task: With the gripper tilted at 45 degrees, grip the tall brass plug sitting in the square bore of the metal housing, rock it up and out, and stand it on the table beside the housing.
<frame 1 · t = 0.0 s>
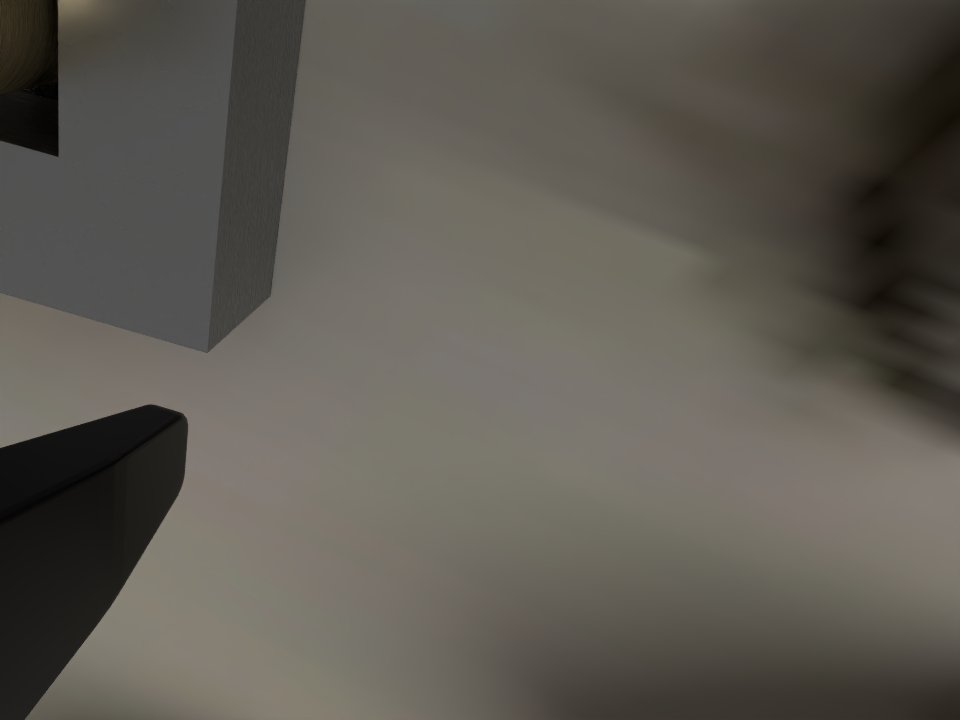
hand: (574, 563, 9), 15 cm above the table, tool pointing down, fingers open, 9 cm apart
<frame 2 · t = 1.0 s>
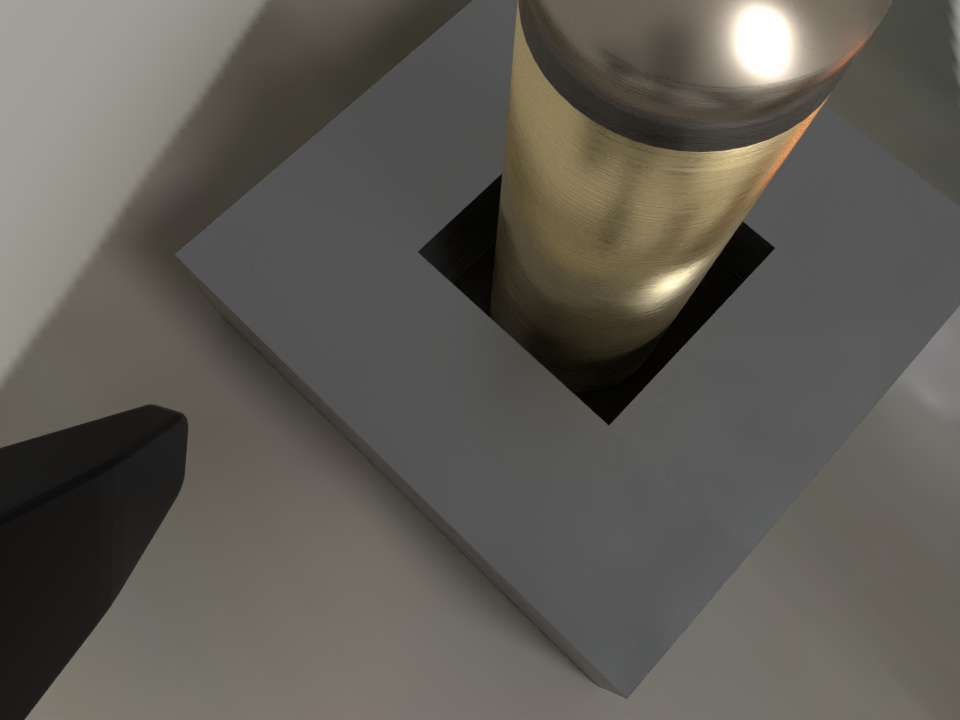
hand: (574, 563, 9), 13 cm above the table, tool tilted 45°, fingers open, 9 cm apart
bore housing: (576, 309, 24), on the table
brass plug: (619, 189, 18), in the bore housing
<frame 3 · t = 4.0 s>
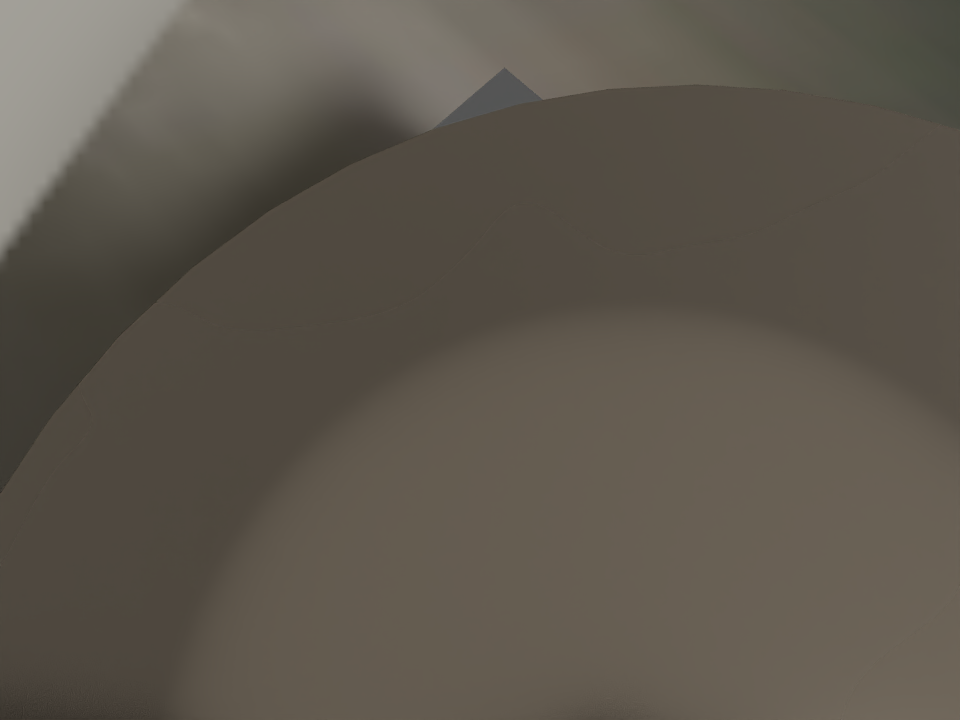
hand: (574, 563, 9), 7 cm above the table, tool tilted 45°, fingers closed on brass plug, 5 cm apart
bore housing: (504, 674, 16), on the table
brass plug: (539, 696, 9), in the bore housing, touching gripper
when the fingers open (8 cm above the table, at t = 9.3 s): brass plug drops 1 cm, on the table.
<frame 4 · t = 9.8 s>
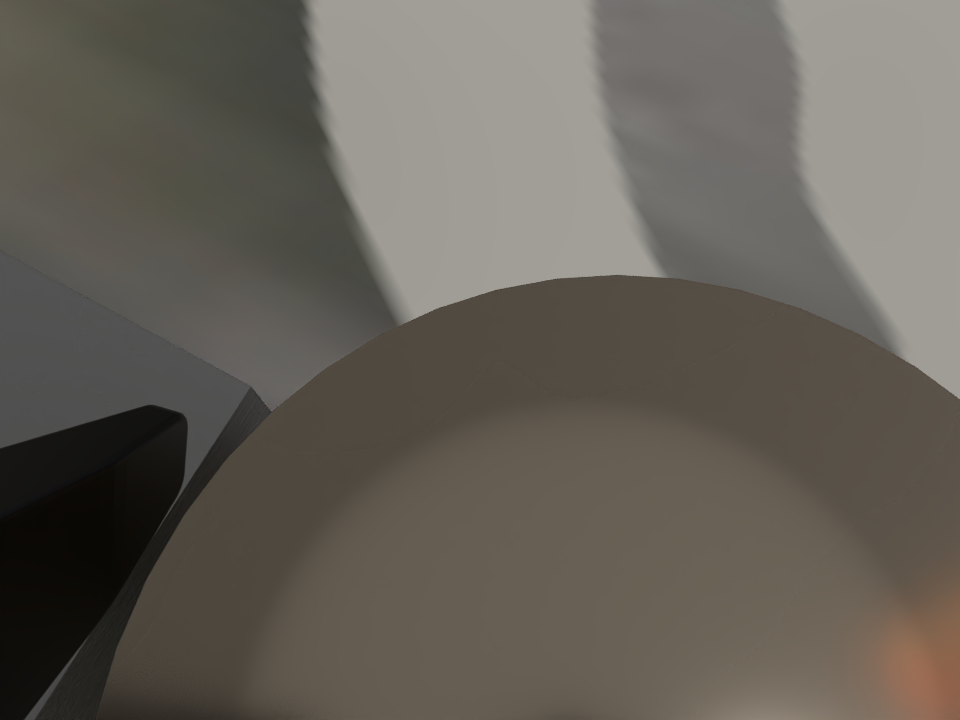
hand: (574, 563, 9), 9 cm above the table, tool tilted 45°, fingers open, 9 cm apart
brass plug: (525, 695, 10), on the table
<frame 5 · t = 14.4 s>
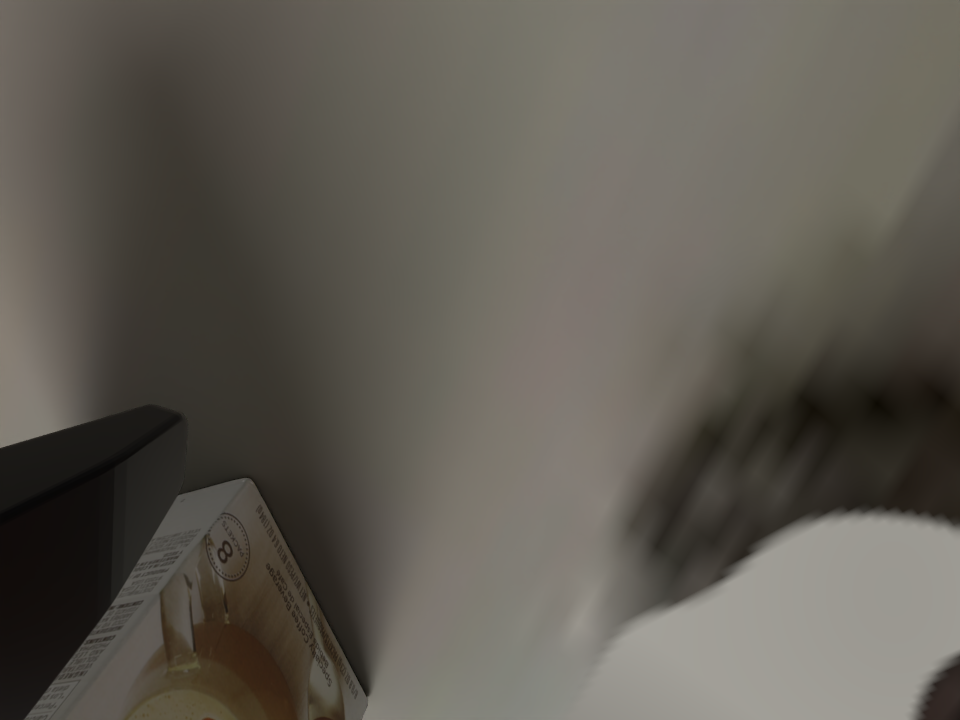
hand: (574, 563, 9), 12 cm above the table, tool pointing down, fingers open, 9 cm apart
coffee box: (236, 605, 28), on the table
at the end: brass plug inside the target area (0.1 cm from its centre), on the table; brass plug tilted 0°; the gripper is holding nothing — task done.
